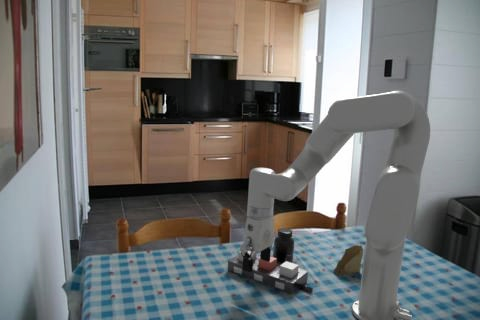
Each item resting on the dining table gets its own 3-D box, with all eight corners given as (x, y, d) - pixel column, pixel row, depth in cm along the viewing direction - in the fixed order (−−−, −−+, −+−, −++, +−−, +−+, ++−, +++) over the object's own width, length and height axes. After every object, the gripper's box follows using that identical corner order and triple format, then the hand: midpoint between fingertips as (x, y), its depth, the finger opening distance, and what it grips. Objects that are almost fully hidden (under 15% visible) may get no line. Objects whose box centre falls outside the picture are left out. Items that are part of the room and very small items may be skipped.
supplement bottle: (291, 269, 141) (294, 235, 139) (271, 267, 142) (273, 232, 140) (293, 261, 148) (296, 228, 145) (273, 258, 149) (276, 225, 147)
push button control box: (318, 287, 130) (320, 275, 129) (303, 300, 122) (305, 287, 121) (245, 261, 145) (245, 250, 144) (227, 272, 137) (227, 260, 136)
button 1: (297, 283, 131) (298, 265, 130) (290, 288, 128) (292, 269, 126) (284, 279, 133) (286, 261, 132) (278, 284, 130) (279, 265, 129)
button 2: (275, 276, 135) (276, 258, 134) (269, 280, 132) (270, 262, 131) (264, 272, 137) (265, 254, 136) (257, 276, 134) (258, 258, 133)
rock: (336, 274, 135) (368, 270, 135) (331, 247, 138) (362, 244, 139) (330, 280, 144) (359, 277, 145) (325, 254, 148) (354, 251, 148)
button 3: (255, 268, 139) (256, 251, 138) (248, 273, 136) (249, 255, 135) (244, 265, 141) (245, 248, 140) (237, 269, 138) (238, 251, 137)
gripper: (255, 221, 116) (251, 279, 119) (285, 206, 130) (281, 259, 133) (232, 214, 120) (229, 271, 123) (264, 201, 134) (261, 252, 137)
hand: (256, 265), depth 128 cm, fingers open, 9 cm apart
